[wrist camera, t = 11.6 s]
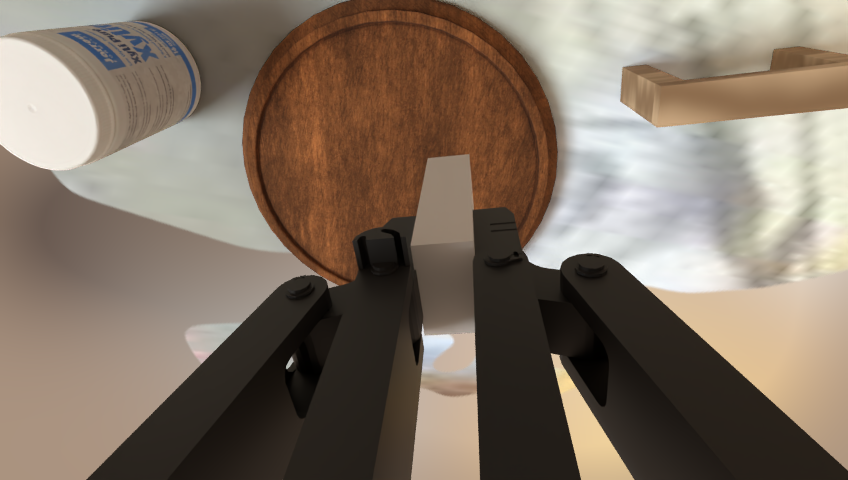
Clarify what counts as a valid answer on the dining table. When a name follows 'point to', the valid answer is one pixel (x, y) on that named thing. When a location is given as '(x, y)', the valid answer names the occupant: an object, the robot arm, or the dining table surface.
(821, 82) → the bridge
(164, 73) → the supplement tub
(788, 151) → the dining table surface
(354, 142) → the cutting board
